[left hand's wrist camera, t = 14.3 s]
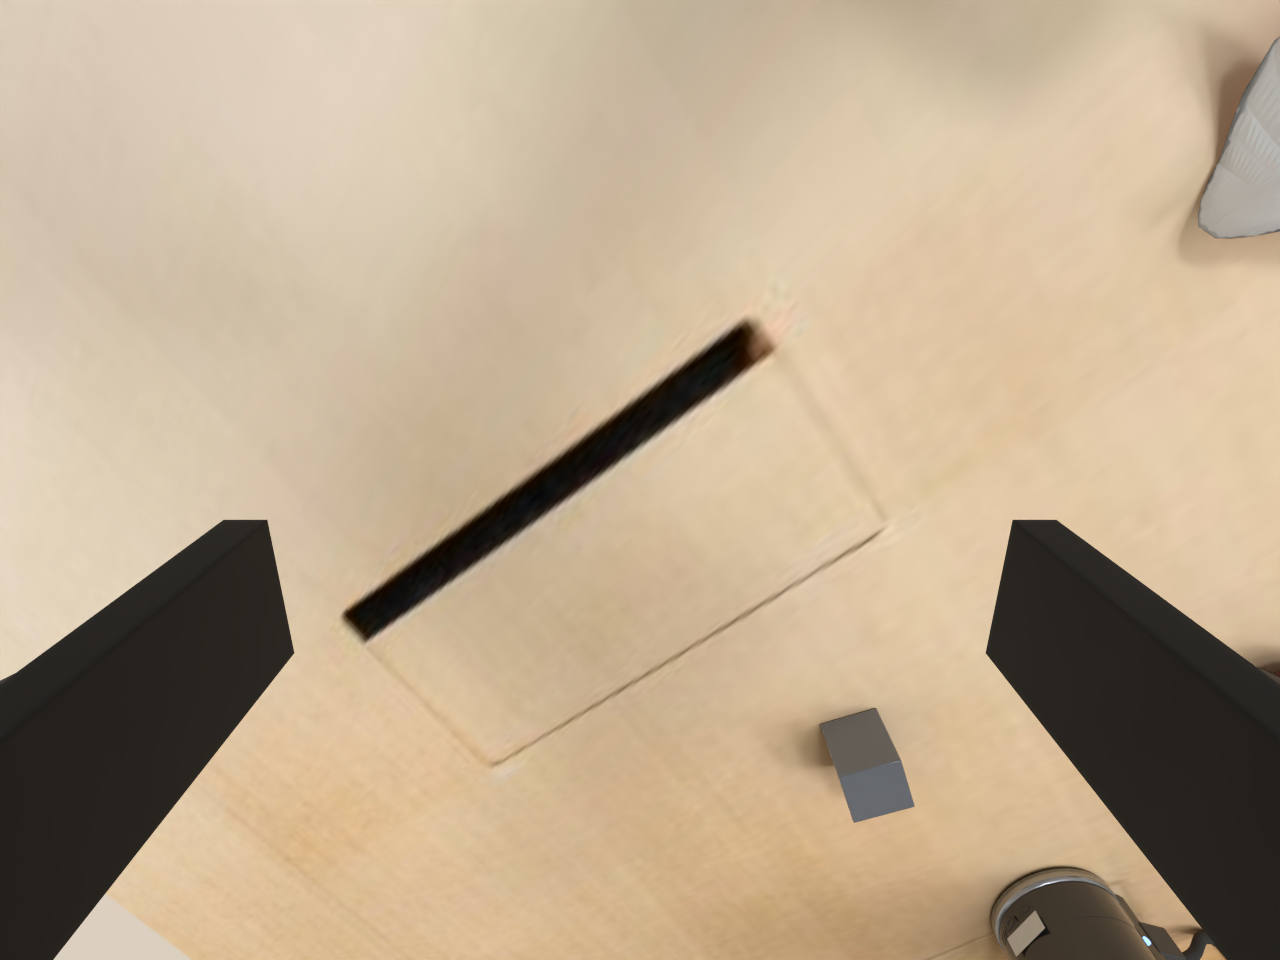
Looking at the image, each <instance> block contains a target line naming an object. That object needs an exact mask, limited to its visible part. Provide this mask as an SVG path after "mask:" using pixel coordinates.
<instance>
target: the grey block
mask: <svg viewBox="0 0 1280 960" xmlns="http://www.w3.org/2000/svg"><path fill="white" fill-rule="evenodd" d="M820 727H821V730H822V733H823V736H824V739H825V741H826V744H827V747H828V750H829V753H830V756H831V759H832V762H833V765H834V768H835V771H836V774H837V777H838V780H839V782H840V785H841V788H842V791H843V794H844V797H845V800H846V802H847V805H848V808H849V811H850V814H851V817H852V820H853V822H854V823H855V822H859V821H863V820H867V819H870V818H874V817H878V816H881V815H885V814H889V813H893V812H896V811H900V810H904V809H908V808H911V807H914V802H913V799H912V796H911V792H910V789H909V785H908V782H907V779H906V775H905V772H904V768H903V765H902V762H901V759H900V757H899V755H898V753H897V751H896V749H895V746H894V744H893V742H892V740H891V738H890V736H889V734H888V732H887V730H886V728H885V725H884V723H883V721H882V719H881V717H880V715H879V713H878V711H877V709H876V708H875V709H871V710H868V711H864V712H861V713H857V714H854V715H850V716H847V717H843V718H840V719H836V720H833V721H829V722H826V723H822V724H820Z"/></svg>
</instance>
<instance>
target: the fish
mask: <svg viewBox="0 0 1280 960" xmlns="http://www.w3.org/2000/svg"><path fill="white" fill-rule="evenodd" d="M1198 226H1199V227H1200V228H1201V229H1203V230H1204V231H1206V232H1207V233H1208V234H1210V235H1211V236H1213V237H1214V238H1227V239H1232V238H1242V237H1252V236H1257V235H1263V234H1268V233H1273V232H1278V231H1280V37H1278V38H1277V39H1276V40H1275V41H1274V42H1273V44H1272V46H1271V47H1270V49H1269V51H1268V52H1267V54H1266V56H1265V57H1264V59H1263V61H1262V63H1261V64H1260V66H1259V68H1258V69H1257V71H1256V73H1255V74H1254V76H1253V78H1252V79H1251V81H1250V83H1249V84H1248V86H1247V88H1246V89H1245V91H1244V93H1243V95H1242V97H1241V100H1240V103H1239V105H1238V108H1237V111H1236V113H1235V116H1234V119H1233V122H1232V124H1231V127H1230V130H1229V133H1228V136H1227V138H1226V141H1225V144H1224V147H1223V150H1222V153H1221V156H1220V158H1219V161H1218V164H1217V166H1216V167H1215V169H1214V171H1213V173H1212V175H1211V177H1210V179H1209V181H1208V183H1207V186H1206V189H1205V191H1204V194H1203V197H1202V199H1201V203H1200V208H1199V213H1198Z"/></svg>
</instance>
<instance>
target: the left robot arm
mask: <svg viewBox="0 0 1280 960" xmlns="http://www.w3.org/2000/svg"><path fill="white" fill-rule="evenodd" d="M293 654H294V650H293V645H292V640H291V635H290V630H289V625H288V620H287V615H286V610H285V605H284V600H283V595H282V590H281V586H280V581H279V576H278V571H277V566H276V561H275V556H274V551H273V546H272V541H271V536H270V531H269V526H268V521H267V520H223V521H222V522H220V523H219V524H218V525H216V526H215V527H213V528H212V529H211V530H209V531H208V532H207V533H205V534H204V535H203V536H201V537H200V538H199V539H197V540H196V541H194V542H193V543H192V544H190V545H189V546H188V547H186V548H185V549H184V550H182V551H181V552H180V553H178V554H177V555H175V556H174V557H173V558H171V559H170V560H169V561H167V562H166V563H165V564H163V565H162V566H161V567H159V568H158V569H156V570H155V571H154V572H152V573H151V574H150V575H148V576H147V577H146V578H144V579H143V580H142V581H140V582H139V583H138V584H136V585H135V586H133V587H132V588H131V589H129V590H128V591H127V592H125V593H124V594H123V595H121V596H120V597H119V598H117V599H116V600H114V601H113V602H112V603H110V604H109V605H108V606H106V607H105V608H104V609H102V610H101V611H100V612H98V613H97V614H95V615H94V616H93V617H91V618H90V619H89V620H87V621H86V622H85V623H83V624H82V625H81V626H79V627H78V628H76V629H75V630H74V631H72V632H71V633H70V634H68V635H67V636H66V637H64V638H63V639H62V640H60V641H59V642H57V643H56V644H55V645H53V646H52V647H51V648H49V649H48V650H47V651H45V652H44V653H43V654H41V655H40V656H38V657H37V658H36V659H34V660H33V661H32V662H30V663H29V664H28V665H26V666H25V667H24V668H22V669H21V670H19V671H18V672H17V673H15V674H13V675H11V676H9V677H7V678H5V679H3V680H1V681H0V960H53V959H54V958H55V957H56V955H57V954H58V953H59V952H60V950H61V949H62V948H63V946H64V945H65V944H66V943H67V941H68V940H69V939H70V938H71V936H72V935H73V934H74V932H75V931H76V930H77V929H78V927H79V926H80V925H81V924H82V922H83V921H84V920H85V918H86V917H87V916H88V915H89V913H90V912H91V911H92V910H93V908H94V907H95V906H96V904H97V903H98V902H99V901H100V899H101V898H102V897H103V896H104V894H105V893H106V892H107V891H108V889H109V888H110V887H111V885H112V884H113V883H114V882H115V880H116V879H117V878H118V877H119V875H120V874H121V873H122V871H123V870H124V869H125V868H126V866H127V865H128V864H129V863H130V861H131V860H132V859H133V857H134V856H135V855H136V854H137V852H138V851H139V850H140V849H141V847H142V846H143V845H144V843H145V842H146V841H147V840H148V838H149V837H150V836H151V835H152V833H153V832H154V831H155V829H156V828H157V827H158V826H159V824H160V823H161V822H162V821H163V819H164V818H165V817H166V815H167V814H168V813H169V812H170V810H171V809H172V808H173V807H174V805H175V804H176V803H177V801H178V800H179V799H180V798H181V796H182V795H183V794H184V793H185V791H186V790H187V789H188V787H189V786H190V785H191V784H192V782H193V781H194V780H195V779H196V777H197V776H198V775H199V773H200V772H201V771H202V770H203V768H204V767H205V766H206V765H207V763H208V762H209V761H210V759H211V758H212V757H213V756H214V754H215V753H216V752H217V751H218V749H219V748H220V747H221V745H222V744H223V743H224V742H225V740H226V739H227V738H228V737H229V735H230V734H231V733H232V731H233V730H234V729H235V728H236V726H237V725H238V724H239V723H240V721H241V720H242V719H243V717H244V716H245V715H246V714H247V712H248V711H249V710H250V709H251V707H252V706H253V705H254V704H255V702H256V701H257V700H258V698H259V697H260V696H261V695H262V693H263V692H264V691H265V690H266V688H267V687H268V686H269V684H270V683H271V682H272V681H273V679H274V678H275V677H276V676H277V674H278V673H279V672H280V670H281V669H282V668H283V667H284V665H285V664H286V663H287V662H288V660H289V659H290V658H291V656H292V655H293ZM986 654H987V655H988V656H989V658H990V659H991V660H992V662H993V663H994V664H995V665H996V667H997V668H998V669H999V670H1000V672H1001V673H1002V674H1003V676H1004V677H1005V678H1006V679H1007V681H1008V682H1009V683H1010V684H1011V686H1012V687H1013V688H1014V690H1015V691H1016V692H1017V693H1018V695H1019V696H1020V697H1021V698H1022V700H1023V701H1024V702H1025V704H1026V705H1027V706H1028V707H1029V709H1030V710H1031V711H1032V712H1033V714H1034V715H1035V716H1036V717H1037V719H1038V720H1039V721H1040V723H1041V724H1042V725H1043V726H1044V728H1045V729H1046V730H1047V731H1048V733H1049V734H1050V735H1051V737H1052V738H1053V739H1054V740H1055V742H1056V743H1057V744H1058V745H1059V747H1060V748H1061V749H1062V751H1063V752H1064V753H1065V754H1066V756H1067V757H1068V758H1069V759H1070V761H1071V762H1072V763H1073V765H1074V766H1075V767H1076V768H1077V770H1078V771H1079V772H1080V773H1081V775H1082V776H1083V777H1084V779H1085V780H1086V781H1087V782H1088V784H1089V785H1090V786H1091V787H1092V789H1093V790H1094V791H1095V793H1096V794H1097V795H1098V796H1099V798H1100V799H1101V800H1102V801H1103V803H1104V804H1105V805H1106V807H1107V808H1108V809H1109V810H1110V812H1111V813H1112V814H1113V815H1114V817H1115V818H1116V819H1117V821H1118V822H1119V823H1120V824H1121V826H1122V827H1123V828H1124V829H1125V831H1126V832H1127V833H1128V835H1129V836H1130V837H1131V838H1132V840H1133V841H1134V842H1135V843H1136V845H1137V846H1138V847H1139V849H1140V850H1141V851H1142V852H1143V854H1144V855H1145V856H1146V857H1147V859H1148V860H1149V861H1150V863H1151V864H1152V865H1153V866H1154V868H1155V869H1156V870H1157V871H1158V873H1159V874H1160V875H1161V877H1162V878H1163V879H1164V880H1165V882H1166V883H1167V884H1168V885H1169V887H1170V888H1171V889H1172V891H1173V892H1174V893H1175V894H1176V896H1177V897H1178V898H1179V899H1180V901H1181V902H1182V903H1183V905H1184V906H1185V907H1186V908H1187V910H1188V911H1189V912H1190V913H1191V915H1192V916H1193V917H1194V918H1195V920H1196V921H1197V922H1198V924H1199V925H1200V926H1201V927H1202V929H1203V930H1204V931H1205V932H1206V934H1207V935H1208V936H1209V938H1210V939H1211V940H1212V941H1213V943H1214V944H1215V945H1216V946H1217V948H1218V949H1219V950H1220V952H1221V953H1222V954H1223V955H1224V957H1225V958H1226V959H1227V960H1280V678H1279V677H1277V676H1275V675H1273V674H1271V673H1269V672H1267V671H1265V670H1263V669H1258V668H1256V667H1255V666H1254V665H1252V664H1251V663H1250V662H1248V661H1247V660H1246V659H1244V658H1243V657H1242V656H1240V655H1239V654H1237V653H1236V652H1235V651H1233V650H1232V649H1231V648H1229V647H1228V646H1227V645H1225V644H1224V643H1223V642H1221V641H1220V640H1218V639H1217V638H1216V637H1214V636H1213V635H1212V634H1210V633H1209V632H1208V631H1206V630H1205V629H1204V628H1202V627H1201V626H1199V625H1198V624H1197V623H1195V622H1194V621H1193V620H1191V619H1190V618H1189V617H1187V616H1186V615H1185V614H1183V613H1182V612H1180V611H1179V610H1178V609H1176V608H1175V607H1174V606H1172V605H1171V604H1170V603H1168V602H1167V601H1166V600H1164V599H1163V598H1161V597H1160V596H1159V595H1157V594H1156V593H1155V592H1153V591H1152V590H1151V589H1149V588H1148V587H1147V586H1145V585H1144V584H1142V583H1141V582H1140V581H1138V580H1137V579H1136V578H1134V577H1133V576H1132V575H1130V574H1129V573H1128V572H1126V571H1125V570H1124V569H1122V568H1121V567H1119V566H1118V565H1117V564H1115V563H1114V562H1113V561H1111V560H1110V559H1109V558H1107V557H1106V556H1105V555H1103V554H1102V553H1100V552H1099V551H1098V550H1096V549H1095V548H1094V547H1092V546H1091V545H1090V544H1088V543H1087V542H1086V541H1084V540H1083V539H1081V538H1080V537H1079V536H1077V535H1076V534H1075V533H1073V532H1072V531H1071V530H1069V529H1068V528H1067V527H1065V526H1064V525H1062V524H1061V523H1060V522H1058V521H1057V520H1013V521H1012V526H1011V531H1010V536H1009V541H1008V546H1007V551H1006V556H1005V561H1004V566H1003V571H1002V576H1001V581H1000V586H999V590H998V595H997V600H996V605H995V610H994V615H993V620H992V625H991V630H990V635H989V640H988V645H987V650H986Z"/></svg>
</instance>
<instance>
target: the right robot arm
mask: <svg viewBox="0 0 1280 960" xmlns="http://www.w3.org/2000/svg"><path fill="white" fill-rule="evenodd" d="M991 926H992V930H993V932H994V934H995V936H996V938H997V940H998V942H999V944H1000V946H1001V948H1002V949H1003V951H1004V952H1005V954H1006V956H1007V958H1008V960H1200V959H1201V957H1202V955H1203V952H1204V949H1205V946H1206V944H1212V945H1214V946H1215V947H1217V946H1216V945H1215V944H1214V943H1213V941H1212V940H1211V939H1210V938H1209V936H1208V935H1207V934H1206V932H1205V931H1199V932H1197V933H1195V934H1194V936H1193V939H1192V942H1191V944H1190V946H1189V948H1188V949H1187V950H1186V951H1184V952H1181V951H1180V949H1179V948H1178V947H1177V945H1176V944H1175V943H1174V941H1173V940H1172V938H1171V937H1170V936H1169V934H1168V933H1167V932H1166V930H1165V929H1164V928H1161V927H1157V926H1153V925H1149V924H1146V923H1142V922H1140V921H1139V920H1138V919H1137V917H1136V916H1135V914H1134V913H1133V912H1132V910H1131V909H1130V907H1129V906H1128V904H1127V903H1126V902H1125V900H1124V899H1123V898H1122V897H1118V896H1115V894H1114V893H1113V892H1112V890H1111V889H1110V887H1109V886H1108V885H1107V884H1106V882H1105V881H1103V880H1102V879H1101V878H1099V877H1098V876H1096V875H1094V874H1092V873H1090V872H1087V871H1083V870H1079V869H1070V868H1060V869H1051V870H1046V871H1041V872H1038V873H1035V874H1032V875H1030V876H1028V877H1025V878H1023V879H1022V880H1020V881H1018V882H1016V883H1015V884H1013V885H1012V886H1011V887H1010V888H1008V889H1007V890H1006V891H1005V892H1004V893H1003V894H1002V895H1001V897H1000V898H999V899H998V901H997V902H996V904H995V906H994V908H993V911H992V915H991Z"/></svg>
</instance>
